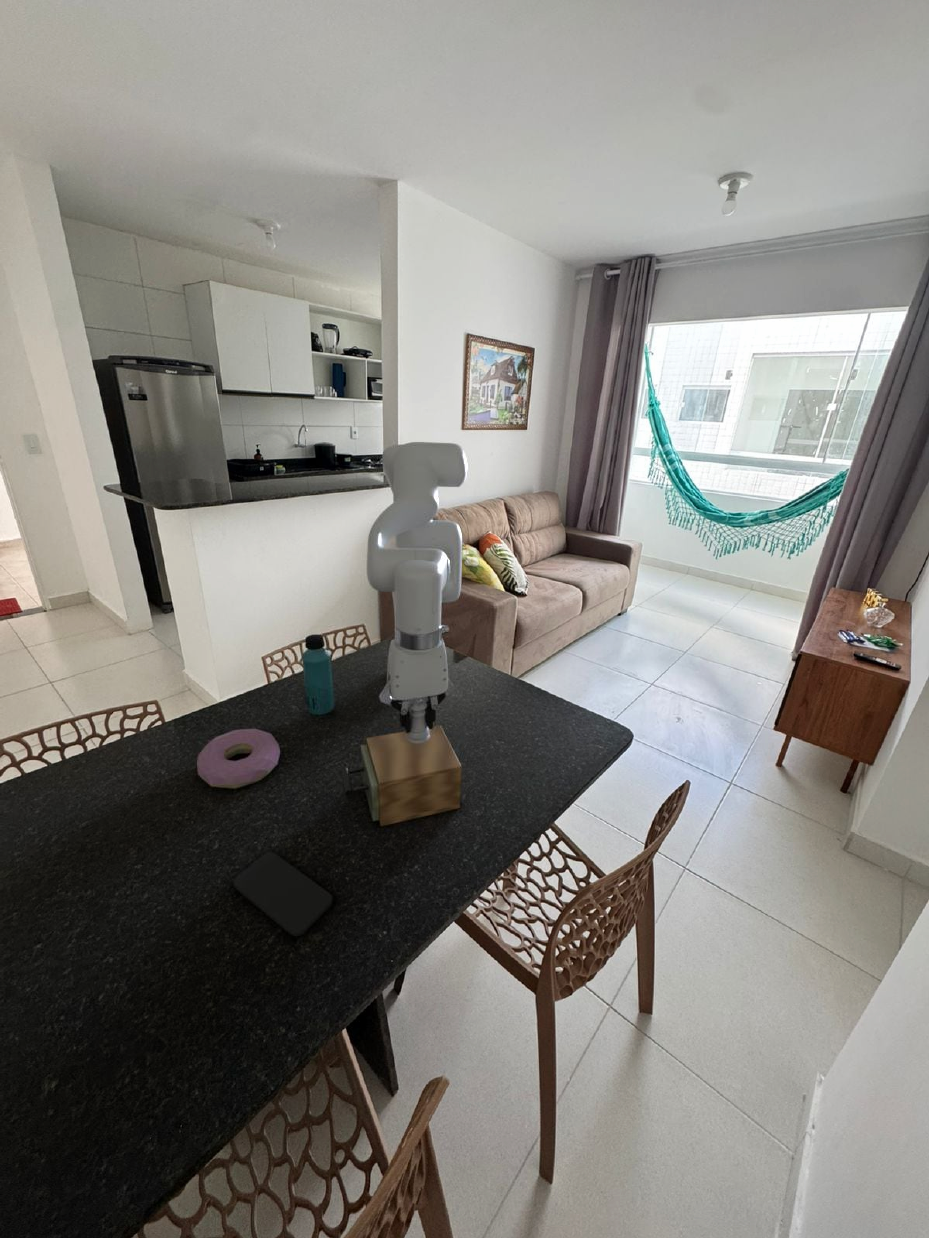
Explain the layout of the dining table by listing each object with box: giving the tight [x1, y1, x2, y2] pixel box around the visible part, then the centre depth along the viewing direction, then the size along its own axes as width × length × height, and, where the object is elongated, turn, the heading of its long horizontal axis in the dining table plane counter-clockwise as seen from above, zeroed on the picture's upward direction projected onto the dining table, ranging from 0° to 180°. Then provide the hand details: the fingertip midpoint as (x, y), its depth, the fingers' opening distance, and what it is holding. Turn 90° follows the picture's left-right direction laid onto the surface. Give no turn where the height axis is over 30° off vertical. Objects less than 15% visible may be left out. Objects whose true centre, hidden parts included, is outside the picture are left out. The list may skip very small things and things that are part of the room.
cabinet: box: [365, 724, 462, 827], centre depth 96 cm, size 15×13×10 cm
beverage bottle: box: [301, 634, 336, 716], centre depth 117 cm, size 6×7×20 cm
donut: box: [196, 728, 281, 790], centre depth 102 cm, size 16×15×5 cm
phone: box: [232, 851, 333, 937], centre depth 77 cm, size 7×1×15 cm
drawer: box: [340, 743, 380, 822], centre depth 95 cm, size 18×12×8 cm, turn 110°
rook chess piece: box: [406, 697, 430, 744], centre depth 92 cm, size 4×4×8 cm
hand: (417, 725), depth 92 cm, fingers closed on rook chess piece, 3 cm apart
